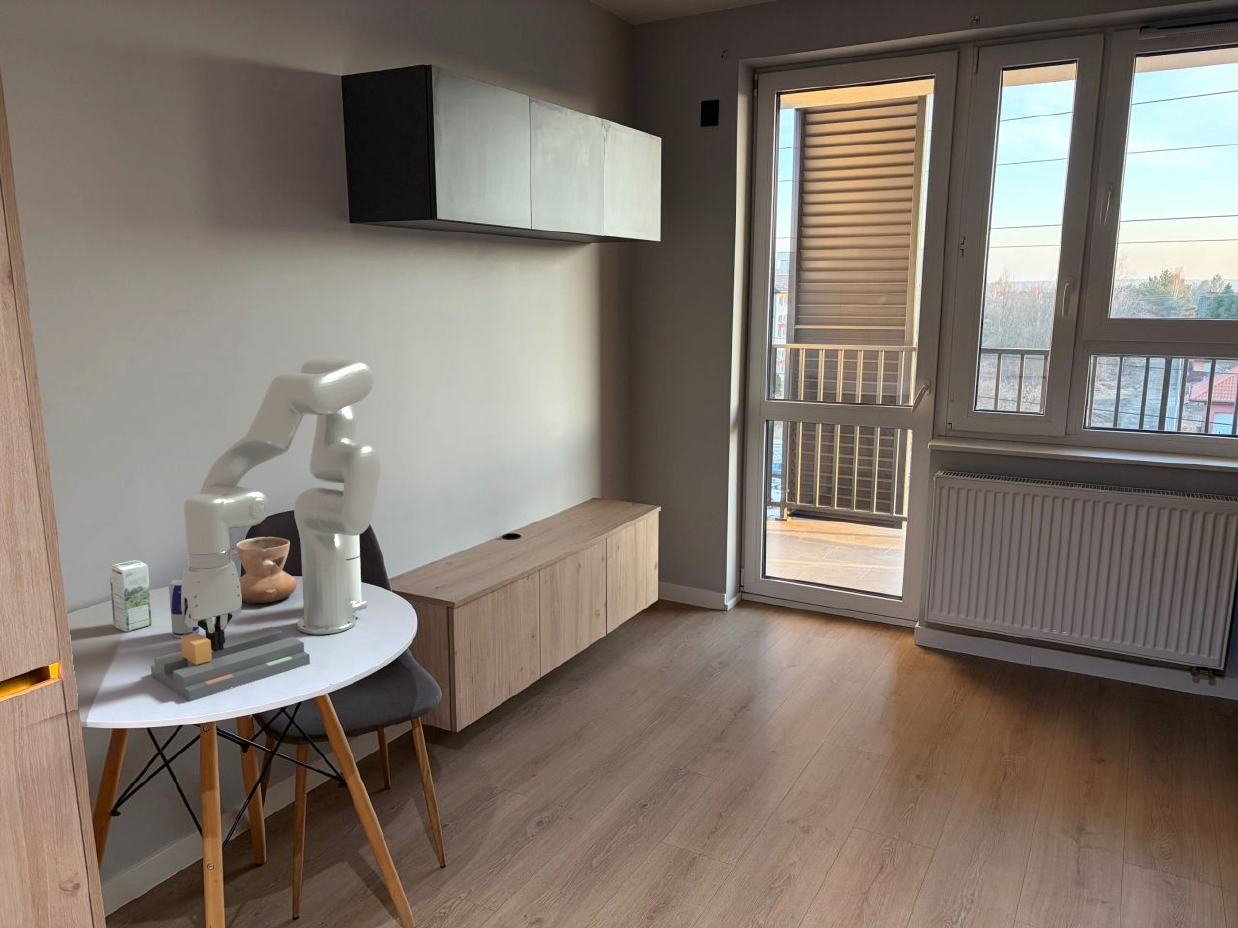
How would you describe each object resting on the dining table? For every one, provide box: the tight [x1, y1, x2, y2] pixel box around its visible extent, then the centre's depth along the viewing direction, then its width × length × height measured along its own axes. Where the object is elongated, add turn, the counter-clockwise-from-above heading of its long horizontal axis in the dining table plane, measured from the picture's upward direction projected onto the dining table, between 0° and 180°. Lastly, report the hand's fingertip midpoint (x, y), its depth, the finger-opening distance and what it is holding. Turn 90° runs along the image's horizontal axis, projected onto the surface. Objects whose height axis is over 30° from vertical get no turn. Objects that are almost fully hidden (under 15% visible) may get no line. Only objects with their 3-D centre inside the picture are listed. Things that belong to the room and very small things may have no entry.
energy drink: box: [168, 578, 200, 639], centre depth 196 cm, size 5×5×12 cm
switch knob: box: [180, 633, 212, 666], centre depth 173 cm, size 3×6×6 cm, turn 49°
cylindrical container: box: [342, 534, 363, 603], centre depth 214 cm, size 7×7×25 cm
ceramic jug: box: [235, 536, 298, 604], centre depth 221 cm, size 18×14×14 cm
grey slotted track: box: [150, 626, 311, 702], centre depth 179 cm, size 24×17×4 cm
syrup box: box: [108, 559, 153, 633], centre depth 200 cm, size 6×6×14 cm
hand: (216, 648), depth 176 cm, fingers closed
